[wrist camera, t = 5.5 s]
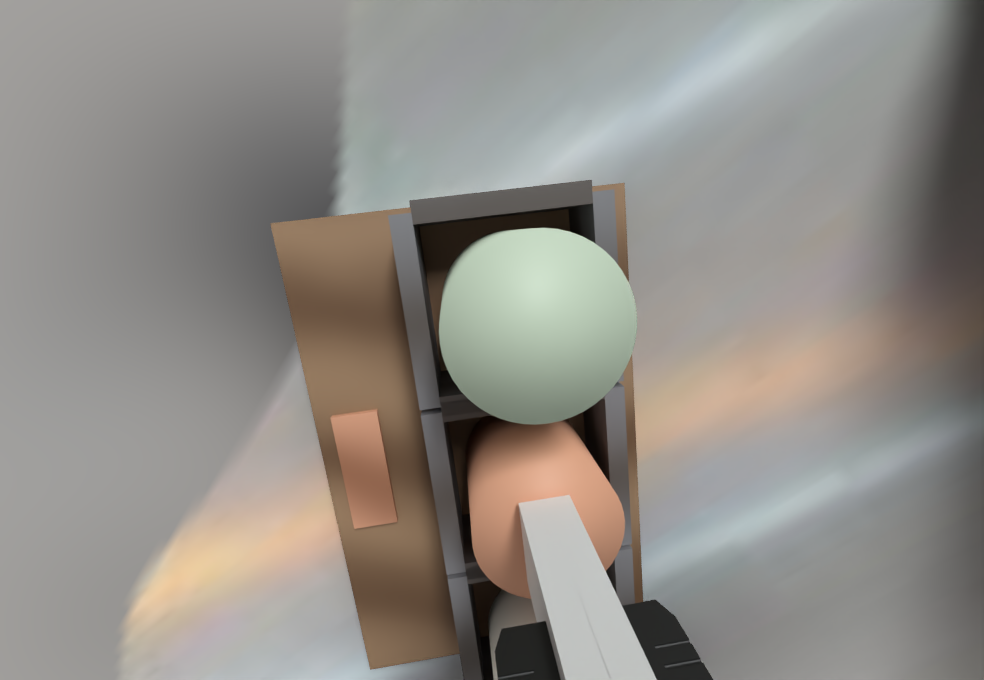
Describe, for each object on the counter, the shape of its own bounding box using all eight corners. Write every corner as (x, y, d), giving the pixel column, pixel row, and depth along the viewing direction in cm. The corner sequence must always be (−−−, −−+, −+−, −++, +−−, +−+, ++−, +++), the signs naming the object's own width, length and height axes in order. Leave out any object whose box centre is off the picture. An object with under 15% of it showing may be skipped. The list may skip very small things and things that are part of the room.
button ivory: (481, 579, 18) (493, 710, 13) (596, 560, 18) (651, 680, 13) (494, 673, 19) (511, 827, 14) (603, 653, 19) (656, 797, 14)
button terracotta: (458, 409, 18) (462, 475, 13) (574, 392, 18) (621, 451, 13) (473, 513, 19) (481, 610, 14) (582, 495, 19) (628, 585, 14)
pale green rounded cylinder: (432, 239, 15) (424, 241, 10) (572, 222, 15) (633, 216, 10) (452, 374, 16) (453, 437, 11) (582, 356, 16) (640, 409, 11)
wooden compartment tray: (285, 224, 18) (231, 220, 13) (610, 187, 18) (660, 172, 14) (375, 641, 22) (357, 739, 18) (631, 596, 23) (674, 680, 19)
